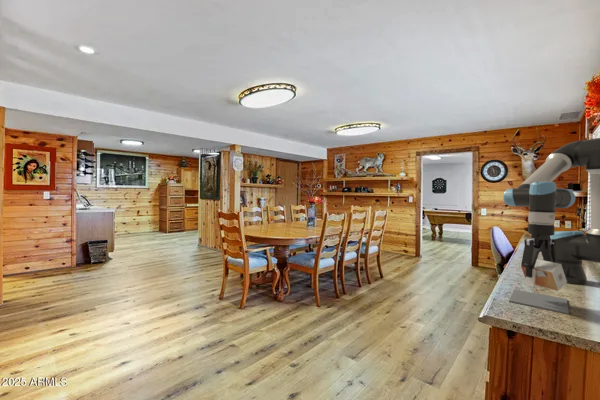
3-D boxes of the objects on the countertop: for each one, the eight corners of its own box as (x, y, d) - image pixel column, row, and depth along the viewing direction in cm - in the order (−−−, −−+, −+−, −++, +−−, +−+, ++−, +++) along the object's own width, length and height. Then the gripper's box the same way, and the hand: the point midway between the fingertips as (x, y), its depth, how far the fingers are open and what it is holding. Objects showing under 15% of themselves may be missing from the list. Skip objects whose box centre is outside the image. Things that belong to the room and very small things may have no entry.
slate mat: (514, 290, 120) (514, 289, 120) (566, 300, 110) (566, 298, 110) (509, 301, 107) (509, 300, 107) (568, 314, 96) (568, 312, 96)
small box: (558, 291, 102) (526, 282, 112) (568, 282, 103) (535, 274, 113) (551, 272, 100) (519, 265, 110) (561, 263, 102) (528, 257, 112)
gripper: (532, 225, 101) (529, 290, 101) (572, 224, 108) (569, 286, 108) (510, 222, 108) (508, 284, 108) (548, 222, 115) (546, 280, 115)
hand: (538, 285), depth 108 cm, fingers closed on small box, 9 cm apart
